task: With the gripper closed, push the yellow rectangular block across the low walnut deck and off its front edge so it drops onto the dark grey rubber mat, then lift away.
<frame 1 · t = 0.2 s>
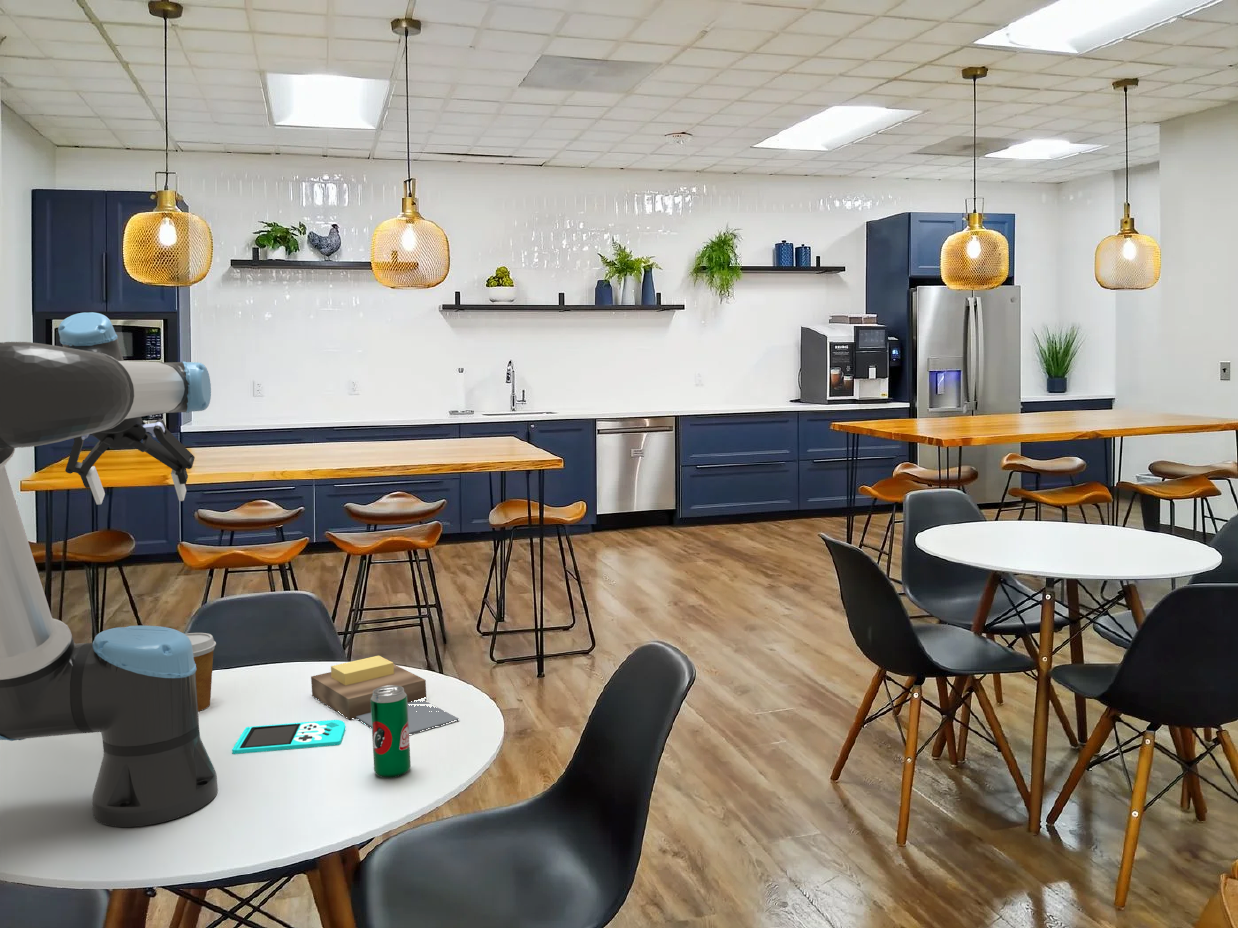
hand: (142, 497, 171), 36 cm above the table, tool tilted 35°, fingers open, 13 cm apart
mat: (407, 719, 157), on the table
handheld game console: (292, 742, 151), on the table
deck: (368, 697, 169), on the table
soda can: (392, 773, 137), on the table
yellow rectangular block: (362, 675, 170), point 3 cm above the table, touching deck
disposable coffee cup: (190, 708, 166), on the table
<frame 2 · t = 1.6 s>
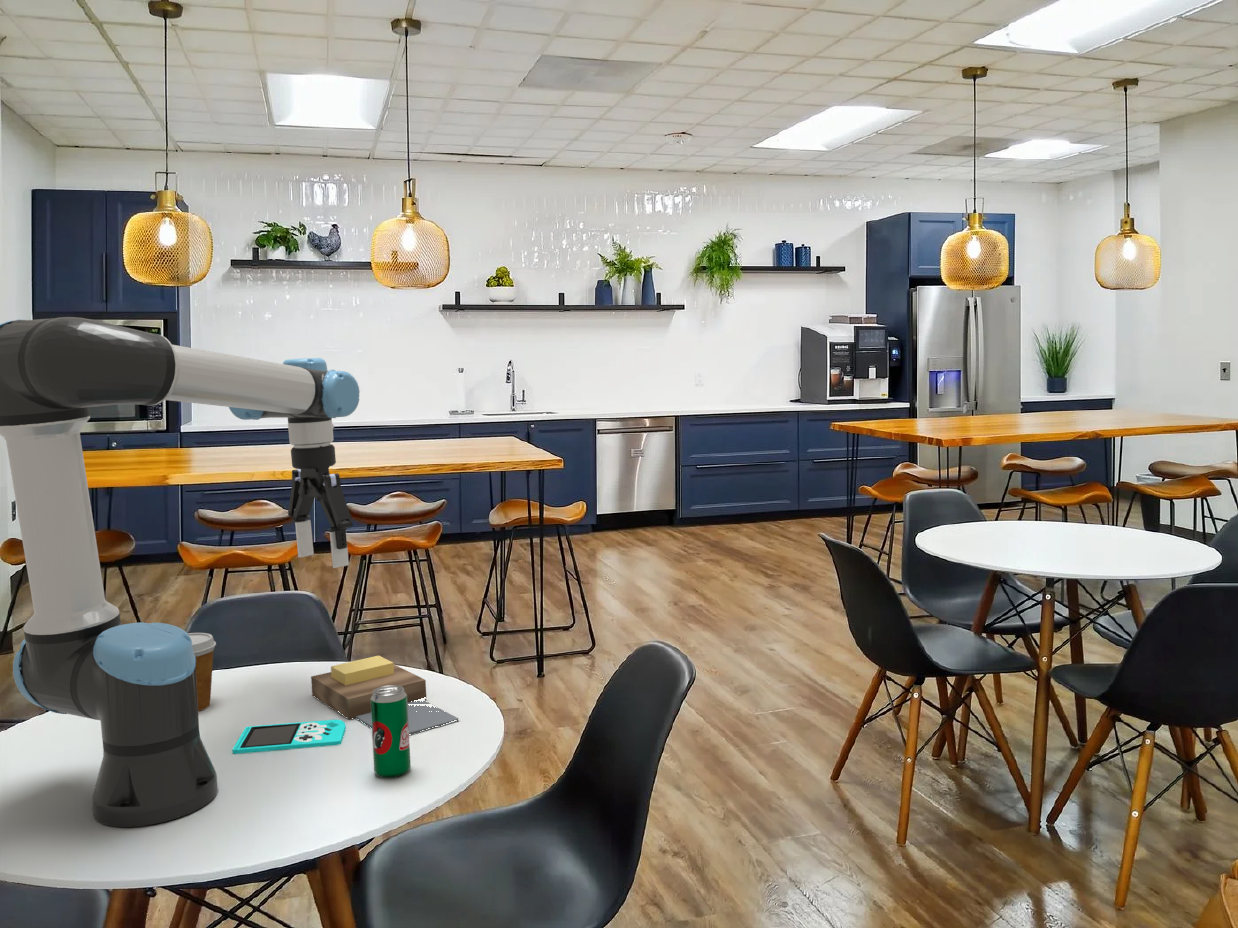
hand: (322, 561, 175), 23 cm above the table, tool pointing down, fingers open, 13 cm apart
nothing on the table moved.
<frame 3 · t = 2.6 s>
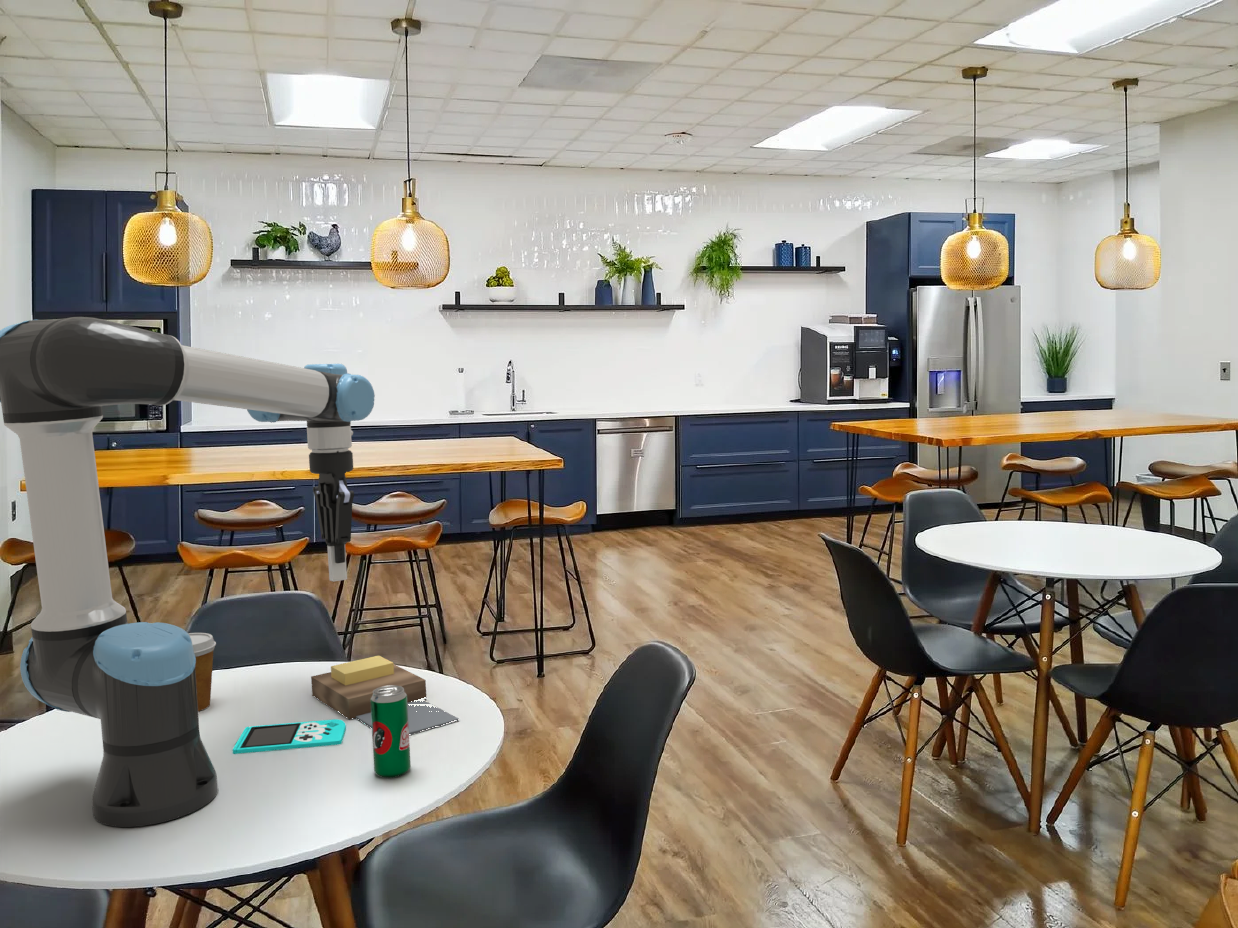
hand: (338, 579, 175), 19 cm above the table, tool pointing down, fingers closed
nothing on the table moved.
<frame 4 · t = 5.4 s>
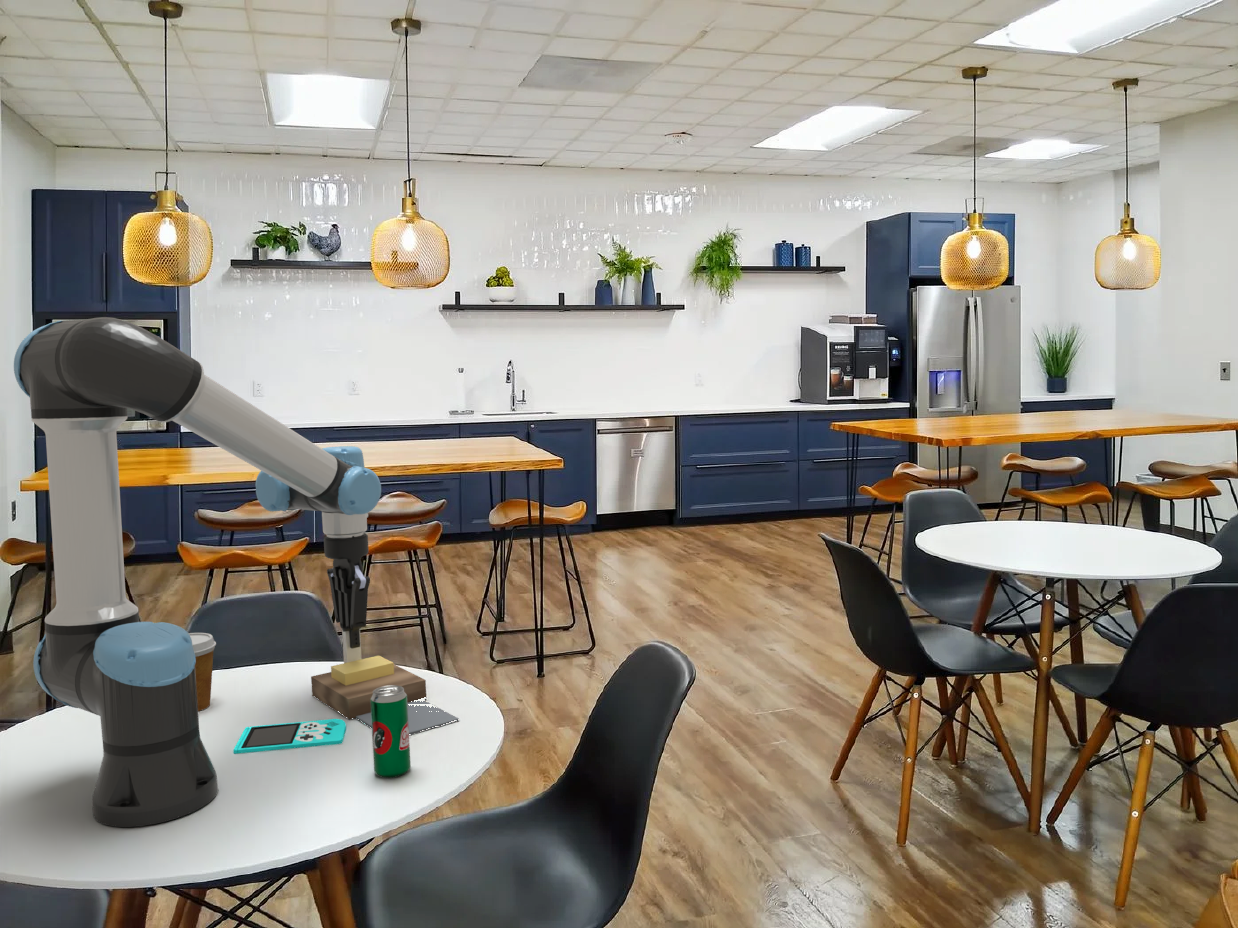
hand: (352, 663, 172), 5 cm above the table, tool pointing down, fingers closed
yellow rectangular block: (362, 675, 170), point 4 cm above the table, touching deck, gripper
everything else where it was.
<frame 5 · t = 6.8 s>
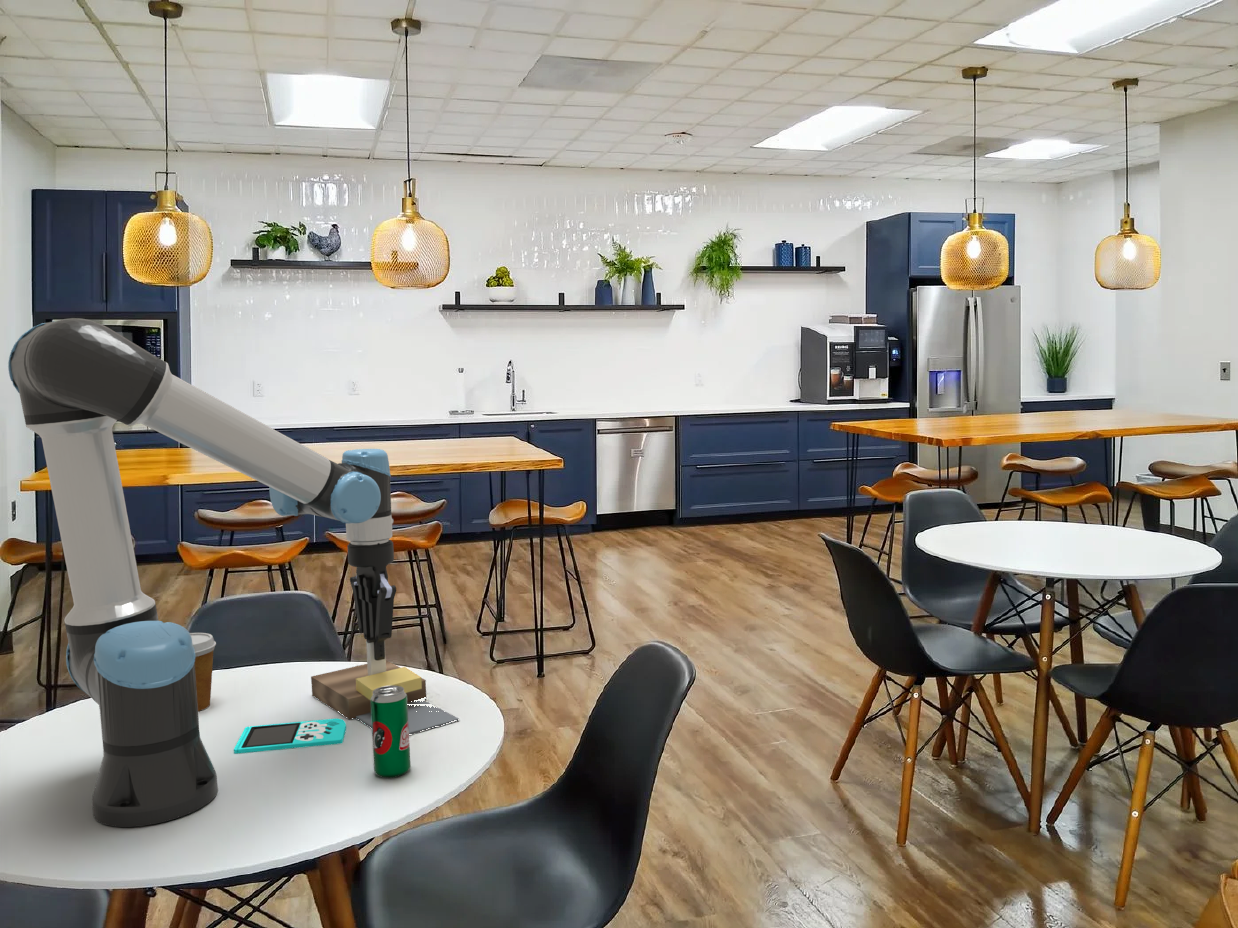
hand: (377, 676, 165), 5 cm above the table, tool pointing down, fingers closed
yellow rectangular block: (388, 689, 162), point 3 cm above the table, touching deck
everything else where it was.
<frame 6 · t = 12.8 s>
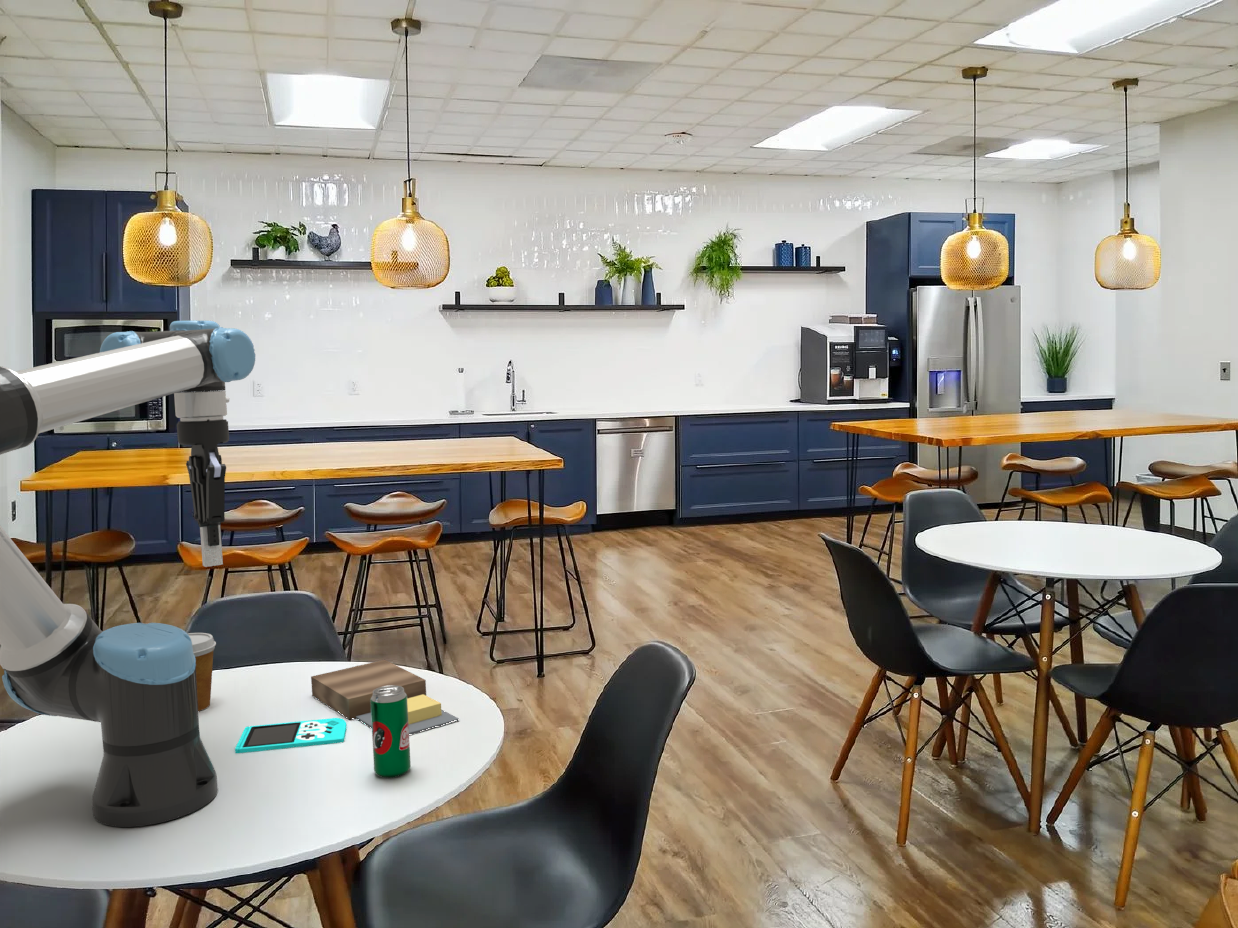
hand: (212, 564, 155), 26 cm above the table, tool pointing down, fingers closed
yellow rectangular block: (407, 705, 157), point 2 cm above the table, tilted 180°, touching mat
everything else where it was.
at the end: yellow rectangular block point 2.4 cm above the table; yellow rectangular block inside the target area (0.3 cm from its centre), point 2.4 cm above the table; yellow rectangular block touching mat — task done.
